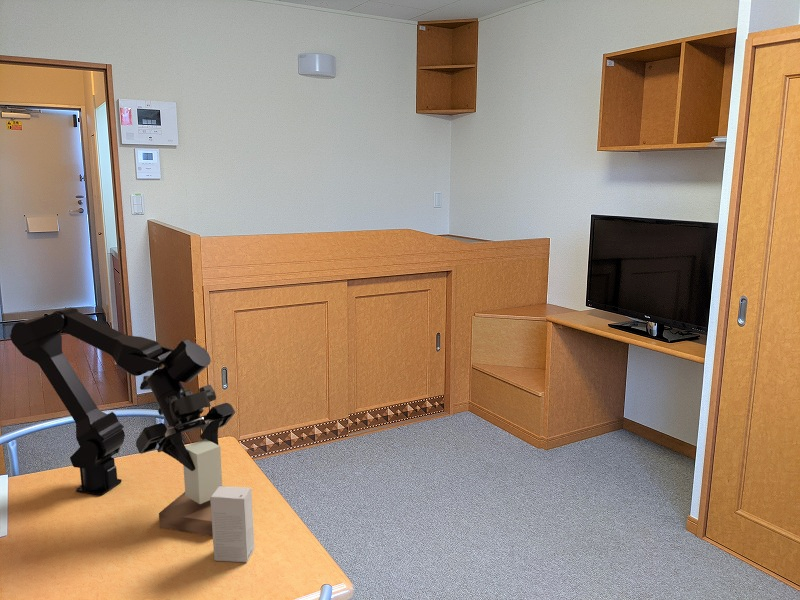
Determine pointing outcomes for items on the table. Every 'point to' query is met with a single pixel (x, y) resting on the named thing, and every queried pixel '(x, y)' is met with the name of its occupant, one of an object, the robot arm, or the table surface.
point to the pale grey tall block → (203, 471)
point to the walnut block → (187, 516)
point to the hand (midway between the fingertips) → (206, 465)
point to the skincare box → (232, 524)
